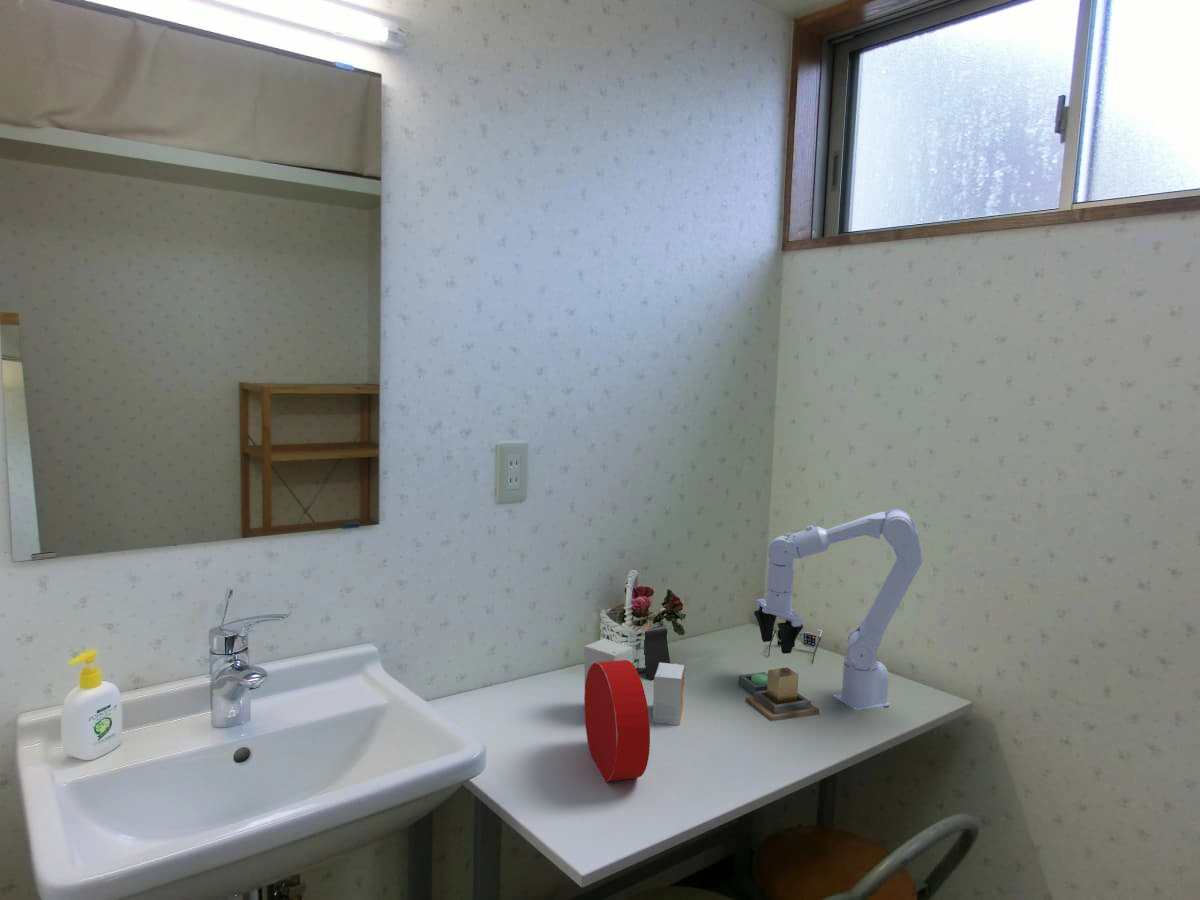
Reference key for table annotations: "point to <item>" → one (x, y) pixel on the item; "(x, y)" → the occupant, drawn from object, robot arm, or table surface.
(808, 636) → the smart glasses
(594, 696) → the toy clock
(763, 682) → the button
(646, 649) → the phone stand
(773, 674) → the block
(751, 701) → the framed wooden tray
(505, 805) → the table surface
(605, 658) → the skincare box
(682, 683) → the small box
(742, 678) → the button housing
